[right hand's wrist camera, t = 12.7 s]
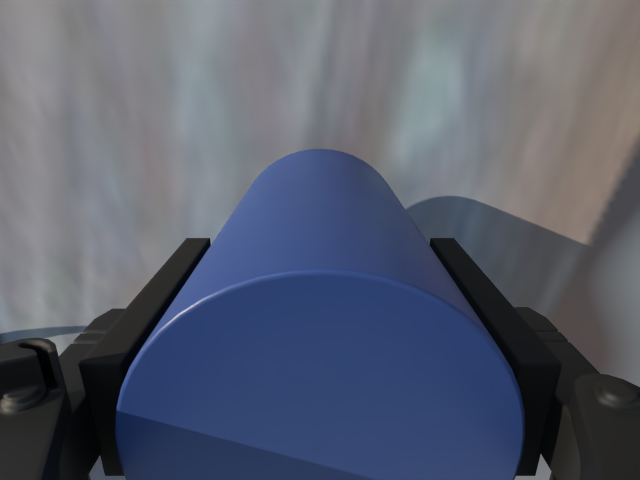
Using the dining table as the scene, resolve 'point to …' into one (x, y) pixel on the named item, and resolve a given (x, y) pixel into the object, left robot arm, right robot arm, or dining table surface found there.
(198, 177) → the dining table surface
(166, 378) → the canister
